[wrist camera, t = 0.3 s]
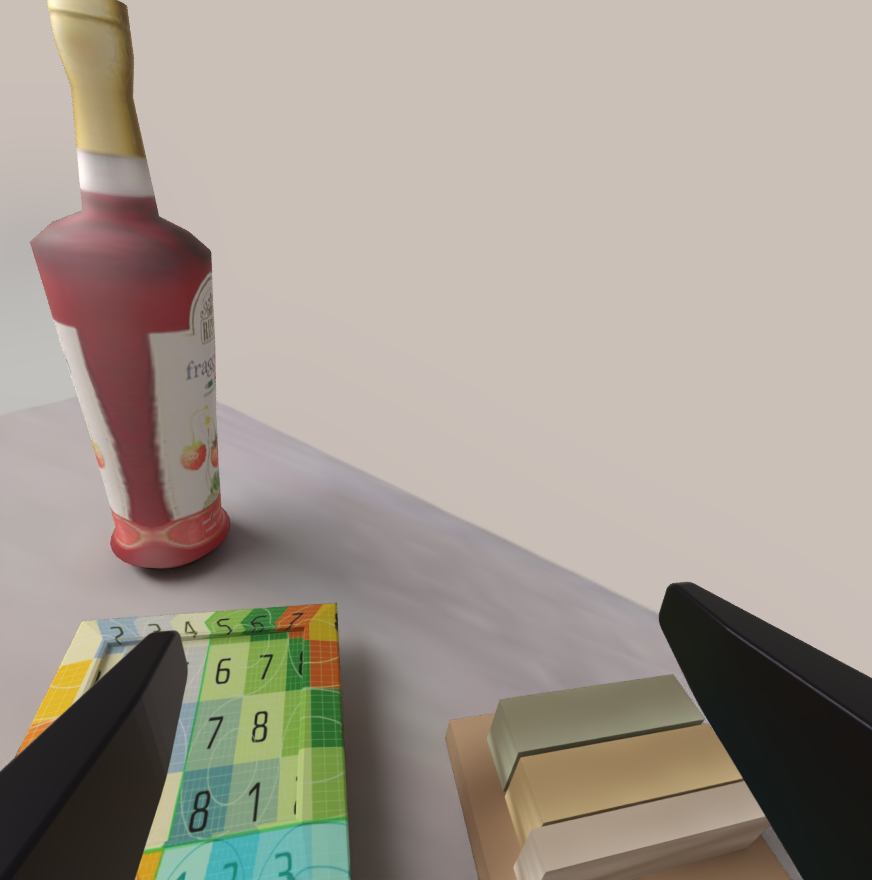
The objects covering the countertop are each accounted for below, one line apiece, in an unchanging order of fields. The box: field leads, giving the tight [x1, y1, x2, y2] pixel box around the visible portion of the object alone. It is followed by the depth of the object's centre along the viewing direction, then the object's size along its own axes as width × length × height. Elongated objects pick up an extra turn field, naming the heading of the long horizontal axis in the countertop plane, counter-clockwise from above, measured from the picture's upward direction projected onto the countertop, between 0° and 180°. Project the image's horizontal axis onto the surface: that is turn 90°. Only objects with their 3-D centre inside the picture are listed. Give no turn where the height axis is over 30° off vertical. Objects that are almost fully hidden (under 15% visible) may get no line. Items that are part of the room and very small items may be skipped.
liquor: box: [30, 0, 230, 569], centre depth 26 cm, size 7×7×28 cm
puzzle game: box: [15, 603, 351, 880], centre depth 16 cm, size 12×5×20 cm
